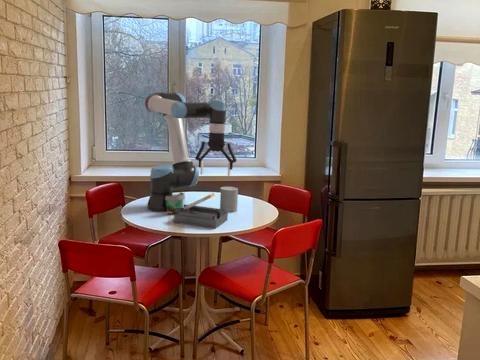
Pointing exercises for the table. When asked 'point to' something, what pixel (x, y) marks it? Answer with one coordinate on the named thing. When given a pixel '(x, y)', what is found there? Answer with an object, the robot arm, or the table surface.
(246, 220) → the table surface
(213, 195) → the beige and orange bar
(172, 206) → the food container
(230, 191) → the concrete plant pot
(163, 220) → the table surface
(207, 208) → the grey metal tray
